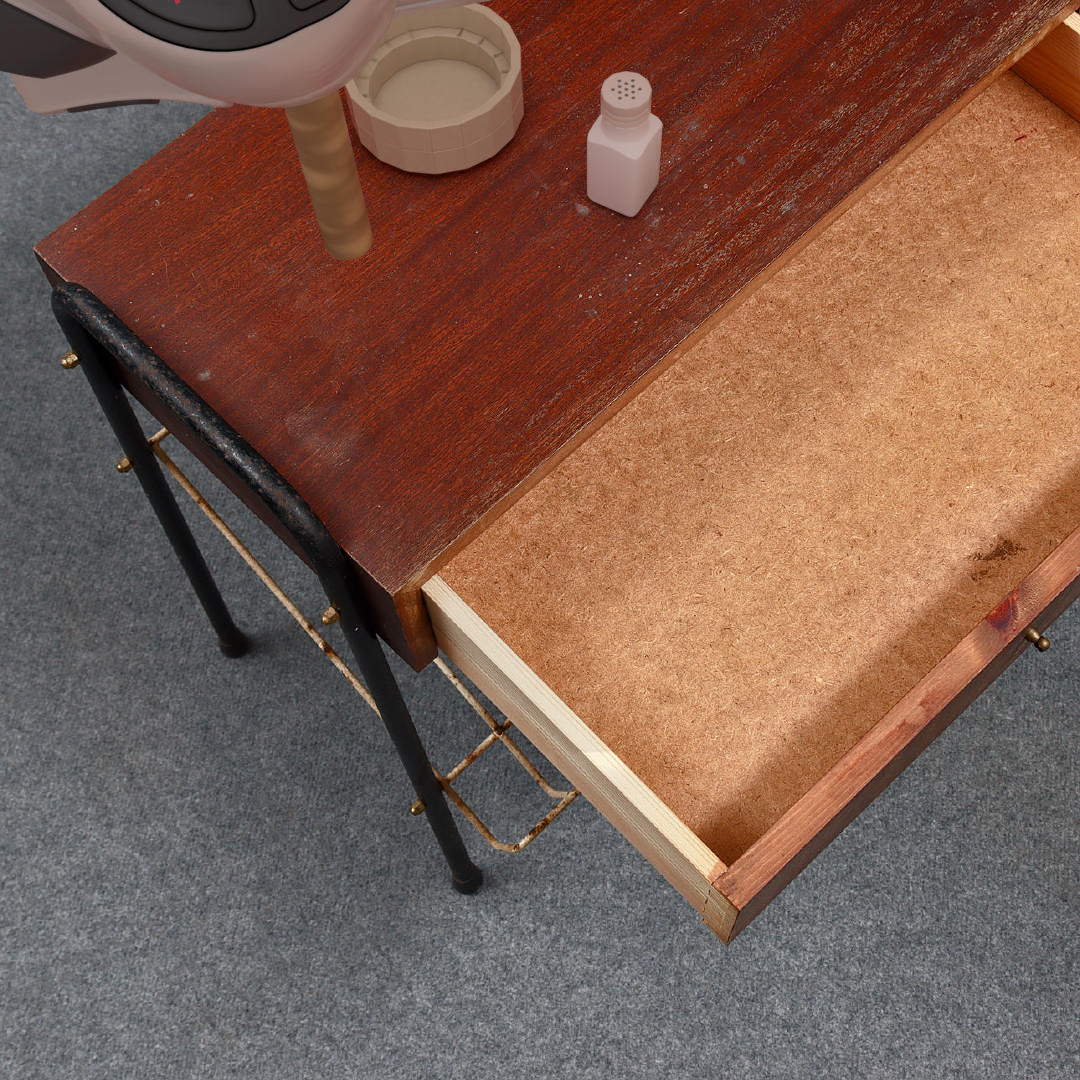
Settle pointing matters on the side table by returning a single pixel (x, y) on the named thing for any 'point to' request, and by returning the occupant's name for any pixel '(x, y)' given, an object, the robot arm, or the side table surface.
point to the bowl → (440, 91)
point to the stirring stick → (331, 176)
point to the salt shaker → (624, 145)
